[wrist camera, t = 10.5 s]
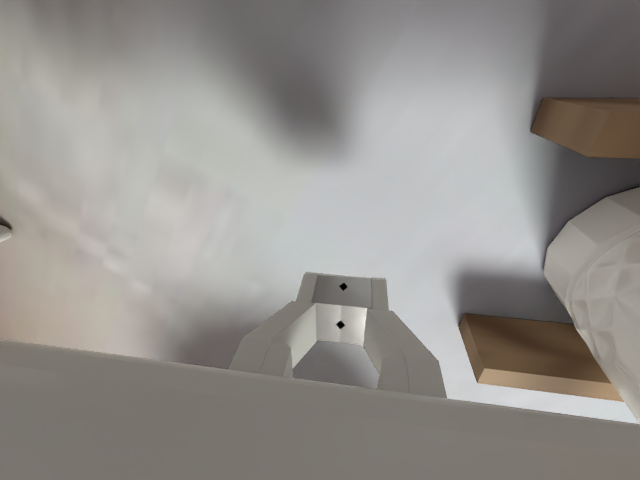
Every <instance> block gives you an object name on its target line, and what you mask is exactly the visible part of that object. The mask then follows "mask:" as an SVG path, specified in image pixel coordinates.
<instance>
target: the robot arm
mask: <svg viewBox="0 0 640 480" xmlns="http://www.w3.org/2000/svg"><path fill="white" fill-rule="evenodd" d="M317 340H319V341H331V342H341V343H348V344H355V345H363V346H364V349H365V350H366V352H367V354H368V355H369V357H370V359H371V361H372V362H373V364H374V366H375V368H376V369H377V371H378V373H379V380H378V386H377V389H372V388H364V387H357V386H349V385H342V384H334V383H327V382H319V381H312V380H304V379H297V378H294V376H293V368H294V367H295V365H296V364H297V363H298V362H299V361H300V360H301V359H302V358H303V356H304V355H305V354H306V353H307V352H308V351H309V350H310V349H311V347H312V346H313V345H314V344H315V343H316V342H317ZM0 480H640V424H635V423H627V422H620V421H612V420H604V419H597V418H589V417H582V416H575V415H567V414H560V413H552V412H545V411H537V410H530V409H522V408H515V407H507V406H500V405H492V404H485V403H477V402H470V401H462V400H455V399H447V396H446V391H445V387H444V383H443V378H442V374H441V370H440V365H439V361H438V360H437V359H436V358H435V357H434V356H433V355H432V353H431V352H430V351H429V350H428V349H427V348H426V347H425V346H424V345H423V344H422V342H421V341H420V340H419V339H418V338H417V337H416V336H415V335H414V334H413V333H412V331H411V330H410V329H409V328H408V327H407V326H406V325H405V324H404V323H403V322H402V321H401V319H400V318H399V317H398V316H397V315H396V314H395V313H394V312H393V311H389V309H388V296H387V284H386V279H385V278H366V277H352V276H342V275H332V274H323V273H311V272H306V273H305V274H304V276H303V280H302V283H301V286H300V289H299V293H298V296H297V299H296V302H295V301H292V302H290V303H289V304H287V305H286V306H285V307H283V308H282V309H281V310H279V311H278V312H277V313H275V314H274V315H273V316H271V317H270V318H269V319H267V320H266V321H264V322H263V323H262V324H260V325H259V326H258V327H256V328H255V329H254V330H252V331H251V332H250V333H248V334H247V335H245V336H244V337H243V338H242V340H241V342H240V344H239V346H238V348H237V350H236V352H235V355H234V357H233V359H232V361H231V363H230V365H229V367H228V369H222V368H214V367H207V366H199V365H191V364H184V363H176V362H169V361H161V360H154V359H146V358H139V357H131V356H124V355H116V354H109V353H101V352H94V351H86V350H78V349H71V348H63V347H56V346H48V345H41V344H33V343H25V342H18V341H10V340H3V339H0Z"/></svg>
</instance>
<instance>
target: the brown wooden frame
mask: <svg viewBox="0 0 640 480" xmlns="http://www.w3.org/2000/svg"><path fill="white" fill-rule="evenodd" d="M531 132H532V133H534V134H536V135H539V136H541V137H543V138H545V139H548V140H550V141H552V142H555V143H557V144H559V145H562V146H564V147H566V148H568V149H571V150H573V151H575V152H578V153H580V154H582V155H585V156H587V157H602V158H636V159H640V98H543V99H542V102H541V104H540V107H539V110H538V113H537V115H536V118H535V121H534V124H533V126H532V129H531ZM459 330H460V333H461V336H462V339H463V342H464V345H465V348H466V351H467V354H468V357H469V360H470V363H471V366H472V369H473V372H474V375H475V378H476V381H477V383H481V384H489V385H497V386H505V387H513V388H520V389H528V390H536V391H544V392H552V393H559V394H567V395H575V396H583V397H591V398H599V399H606V400H614V401H622V402H624V401H623V399H622V398H621V396H620V395H619V393H618V392H617V390H616V389H615V388H614V386H613V385H612V383H611V382H610V380H609V379H608V377H607V376H606V374H605V373H604V371H603V370H602V368H601V367H600V365H599V364H598V362H597V361H596V360H595V358H594V357H593V355H592V353H591V351H590V349H589V347H588V345H587V344H586V342H585V341H584V340H583V338H582V337H581V336H580V334H579V333H578V331H577V330H576V328H575V327H574V324H565V323H555V322H545V321H535V320H525V319H514V318H504V317H494V316H484V315H474V314H463V317H462V320H461V323H460V325H459Z"/></svg>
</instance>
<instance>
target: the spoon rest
mask: <svg viewBox="0 0 640 480" xmlns="http://www.w3.org/2000/svg"><path fill="white" fill-rule="evenodd" d="M11 235H12V232H11V230H10V229H9V228H7V227H6V226H3V225H0V242H2V241H4V240H6V239H8V238H10V237H11Z"/></svg>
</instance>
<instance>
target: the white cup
mask: <svg viewBox="0 0 640 480" xmlns="http://www.w3.org/2000/svg"><path fill="white" fill-rule="evenodd" d="M543 274H544V276H545V277H546V279H547V281H548V283H549V284H550V286H551V288H552V289H553V291H554V293H555V294H556V296H557V297H558V299H559V300H560V301H561V303H562V304H563V306H564V307H565V308H566V310H567V311H568V313H569V314H570V316H571V318H572V319H573V323H574V327H575V328H576V330H577V331H578V333H579V334H580V336H581V337H582V338H583V340H584V341H585V342H586V344H587V345H588V347H589V349H590V351H591V353H592V355H593V357H594V358H595V360H596V361H597V362H598V364H599V365H600V367H601V368H602V370H603V371H604V373H605V374H606V376H607V377H608V379H609V380H610V382H611V383H612V385H613V386H614V388H615V389H616V390H617V392H618V393H619V395H620V396H621V398H622V399H623V401H624V402H625V404H626V405H627V407H628V408H629V409H630V411H631V412H632V414H633V415H634V417H635V418H636V420H637V421H638V423H639V424H640V187H638V188H634V189H631V190H628V191H624V192H621V193H618V194H615V195H611V196H608V197H605V198H603V199H602V200H600V201H599V202H597V203H596V204H594V205H593V206H591V207H589V208H588V209H586V210H585V211H583V212H582V213H580V214H578V215H577V216H575V217H574V218H572V219H571V220H569V221H568V222H567V223H566V225H565V226H564V227H563V229H562V230H561V231H560V232H559V234H558V235H557V236H556V237H555V239H554V240H553V241H552V243H551V244H550V245H549V246H548V248H547V253H546V259H545V265H544V271H543Z"/></svg>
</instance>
